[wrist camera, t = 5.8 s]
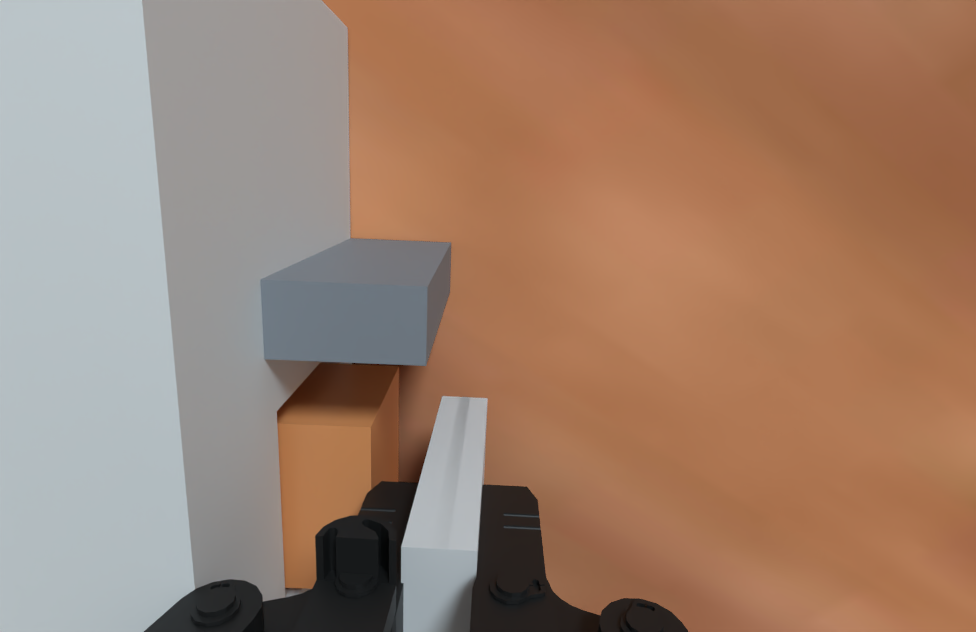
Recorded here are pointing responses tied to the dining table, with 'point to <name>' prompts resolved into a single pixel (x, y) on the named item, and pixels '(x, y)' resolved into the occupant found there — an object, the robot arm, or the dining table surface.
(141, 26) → the box
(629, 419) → the dining table surface
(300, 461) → the block
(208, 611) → the robot arm
